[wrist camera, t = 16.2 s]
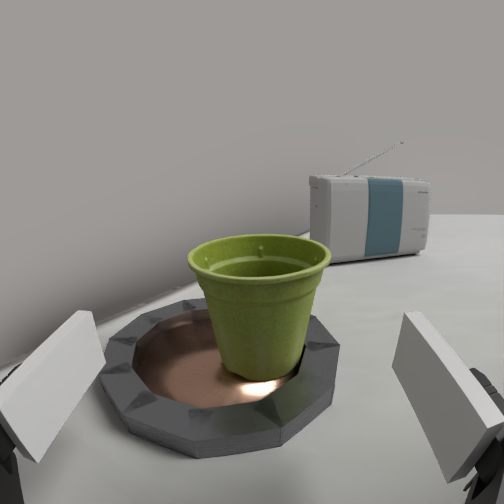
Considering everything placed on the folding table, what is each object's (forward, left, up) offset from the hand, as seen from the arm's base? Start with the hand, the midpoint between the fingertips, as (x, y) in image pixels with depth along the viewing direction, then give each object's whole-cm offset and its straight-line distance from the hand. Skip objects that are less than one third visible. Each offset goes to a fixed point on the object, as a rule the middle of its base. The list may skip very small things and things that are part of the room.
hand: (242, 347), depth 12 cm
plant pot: (+2, -9, -8) cm, 12 cm away
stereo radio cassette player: (-8, -41, -8) cm, 43 cm away
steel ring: (+5, -8, -8) cm, 13 cm away
